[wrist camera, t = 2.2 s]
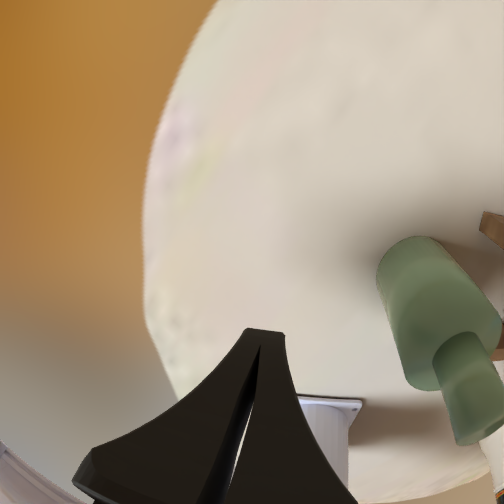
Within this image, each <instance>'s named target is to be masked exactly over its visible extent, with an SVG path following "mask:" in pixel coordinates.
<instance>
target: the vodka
mask: <svg viewBox="0 0 504 504" xmlns="http://www.w3.org/2000/svg"><path fill="white" fill-rule="evenodd" d="M479 444H480V448H481V450H482V451H483V453H484V454H485V457H486V459H487V461H488V463H489V467H490V470H491V474H492V478H493V485H494V493H496V501H497V504H504V425H503V426H502V427H500V428H499V429H498V430H497V431H495V432H494V433H492V434H491V435H489V436H488V437H486V438H484V439H482V440H480V441H479Z"/></svg>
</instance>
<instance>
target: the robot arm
mask: <svg viewBox="0 0 504 504" xmlns="http://www.w3.org/2000/svg"><path fill="white" fill-rule="evenodd" d="M253 403H254V404H253ZM252 406H253V408H252ZM361 407H362V401H360V400H345V399H327V398H313V397H302V396H297V394H296V391H295V388H294V385H293V381H292V377H291V373H290V370H289V365H288V361H287V355H286V348H285V335H284V334H283V332H275V331H268V330H260V329H253V328H246V329H245V330H244V331H243V333H242V335H241V336H240V338H239V339H238V341H237V342H236V343H235V345H234V346H233V347H232V349H231V350H230V351H229V353H228V354H227V355H226V356H225V357H224V358H223V360H222V361H221V362H220V363H219V364H218V365H217V367H216V368H215V369H214V370H213V371H212V372H211V373H210V374H209V375H208V376H207V377H206V378H205V379H204V380H203V381H202V382H201V383H200V384H199V385H198V386H197V387H196V388H194V389H193V390H192V391H191V392H190V393H189V394H188V395H186V396H185V397H184V398H183V399H181V400H180V401H179V402H178V403H176V404H175V405H174V406H172V407H171V408H169V409H168V410H167V411H165V412H164V413H162V414H161V415H159V416H158V417H156V418H155V419H153V420H151V421H150V422H148V423H146V424H144V425H142V426H141V427H139V428H137V429H135V430H133V431H131V432H130V433H128V434H125V435H123V436H121V437H119V438H117V439H114V440H112V441H109V442H107V443H105V444H102V445H99V446H97V447H94V448H92V449H91V451H90V452H89V453H88V455H87V456H86V457H85V458H84V460H83V461H82V463H81V464H80V466H79V468H78V470H77V472H76V473H75V475H74V477H73V479H72V483H73V485H74V486H76V487H77V488H78V489H80V490H81V491H82V492H84V493H85V494H87V495H88V496H90V497H91V498H93V499H94V500H95V501H94V503H93V504H358V502H357V501H356V500H355V498H354V497H353V496H352V495H351V493H350V492H349V491H348V429H349V428H350V426H351V424H352V423H353V421H354V419H355V417H356V416H357V414H358V412H359V411H360V409H361ZM251 409H252V411H251ZM250 412H251V415H250ZM249 415H250V419H249V423H248V427H247V430H246V434H245V437H244V441H243V445H242V448H241V451H240V455H239V458H238V461H237V465H236V468H235V472H234V475H233V477H232V473H233V468H234V464H235V460H236V456H237V452H238V448H239V445H240V442H241V439H242V436H243V433H244V430H245V427H246V424H247V421H248V418H249ZM231 477H232V480H231ZM230 481H231V483H230ZM229 485H230V486H229ZM0 504H86V503H84V502H82V501H81V500H79V499H77V498H76V497H74V496H73V495H71V494H69V493H68V492H66V491H65V490H63V489H61V488H60V487H59V486H57V485H56V484H54V483H53V482H51V481H50V480H48V479H47V478H46V477H44V476H43V475H41V474H40V473H39V472H37V471H36V470H35V469H33V468H32V467H31V466H29V465H28V464H27V463H26V462H25V461H23V460H22V459H21V458H20V457H19V456H18V455H16V454H15V453H14V452H13V451H12V450H11V449H10V448H8V447H7V446H6V444H5V443H4V442H3V441H2V440H1V439H0Z"/></svg>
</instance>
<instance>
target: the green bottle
mask: <svg viewBox="0 0 504 504" xmlns="http://www.w3.org/2000/svg"><path fill="white" fill-rule="evenodd" d="M376 283H377V288H378V291H379V294H380V297H381V300H382V303H383V306H384V308H385V311H386V314H387V317H388V320H389V323H390V327H391V330H392V333H393V336H394V339H395V343H396V346H397V349H398V353H399V356H400V360H401V363H402V367H403V370H404V374H405V377H406V380H407V381H408V383H409V384H410V385H411V386H413V387H414V388H416V389H419V390H423V391H437V390H441V392H442V395H443V398H444V401H445V404H446V408H447V411H448V414H449V418H450V421H451V425H452V429H453V432H454V436H455V440H456V444H457V445H459V446H466V445H470V444H473V443H476V442H478V441H480V440H482V439H484V438H486V437H488V436H489V435H491V434H492V433H494V432H495V431H497V430H498V429H499V428H500V427H502V426H503V425H504V384H503V382H502V380H501V378H500V376H499V374H498V372H497V370H496V368H495V366H494V364H493V362H492V360H491V359H490V357H491V355H492V354H493V352H494V351H495V349H496V347H497V345H498V343H499V340H500V337H501V332H502V321H501V318H500V315H499V314H498V312H497V311H496V309H495V308H494V307H493V305H492V304H491V303H490V301H489V300H488V299H487V298H486V296H485V295H484V294H483V292H482V291H481V290H480V289H479V288H478V286H477V285H476V284H475V283H474V281H473V280H472V279H471V278H470V277H469V276H468V274H467V273H466V272H465V271H464V270H463V269H462V267H461V266H460V265H459V264H458V263H457V262H456V261H455V260H454V258H453V257H452V256H451V255H450V254H449V253H448V252H447V251H446V250H445V249H444V248H443V247H442V246H441V244H439V243H438V242H437V241H436V240H434V239H432V238H429V237H425V236H414V237H409V238H406V239H404V240H402V241H400V242H398V243H397V244H395V245H394V246H393V247H392V248H391V249H390V250H389V251H388V252H387V253H386V254H385V256H384V257H383V259H382V260H381V262H380V265H379V267H378V270H377V276H376Z"/></svg>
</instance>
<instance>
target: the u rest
mask: <svg viewBox="0 0 504 504" xmlns="http://www.w3.org/2000/svg"><path fill="white" fill-rule="evenodd" d="M479 230H480V231H481V232H482V233H484V234H485V235H486V236H488V237H489V238H490V239H491V240H493V241H494V242H495V243H496V244H497V245H499V246H500V247H501V248H502V249H503V250H504V217H502V216H499V215H495V214H491V213H487V212H484V213H483V217H482V221H481V225H480V229H479ZM490 359H491V360H492V361H500V360H504V324H502V332H501V337H500V340H499V343H498V345H497V347H496V349H495V351H494V352H493V354H492V355H491V357H490Z"/></svg>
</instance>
